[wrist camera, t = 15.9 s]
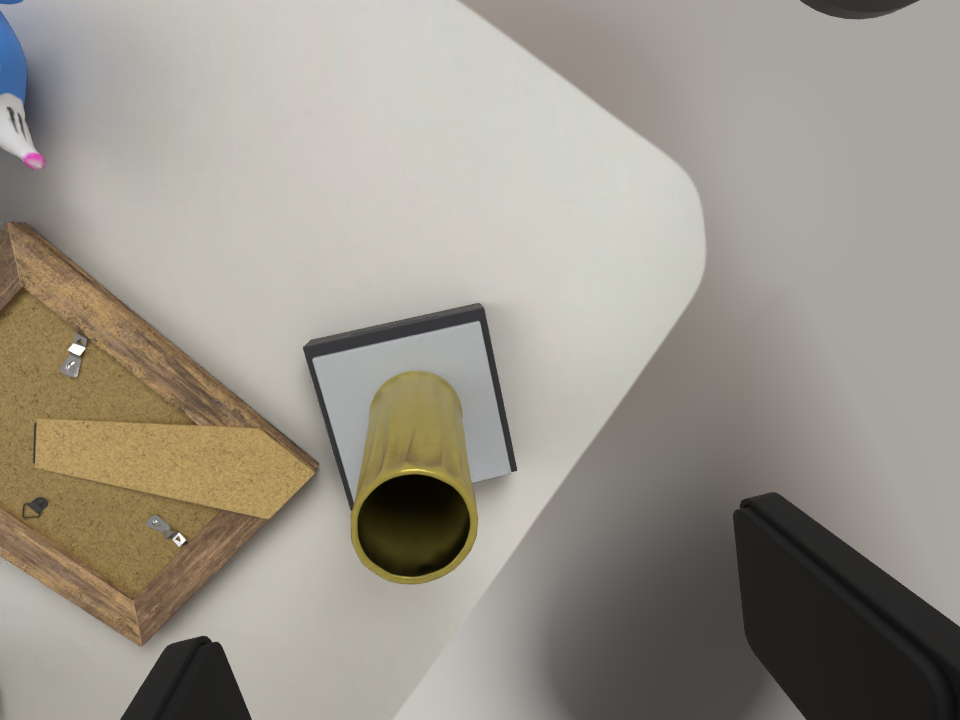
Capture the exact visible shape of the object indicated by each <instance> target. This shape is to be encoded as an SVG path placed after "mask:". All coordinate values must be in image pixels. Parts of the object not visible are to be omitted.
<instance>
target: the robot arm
mask: <svg viewBox="0 0 960 720" xmlns="http://www.w3.org/2000/svg"><path fill="white" fill-rule="evenodd" d="M733 521H734V531H735V541H736V550H737V560H738V571H739V580H740V590H741V600H742V610H743V620H744V629H745V635H746V638H747V640H748V643H749V645H750V647H751V649H752V651H753V652H754V653H755V655H756V656H757V657H758V659H759V660H760V661H761V663H762V664H763V665H764V666H765V668H766V669H767V670H768V671H769V673H770V674H771V675H772V677H773V678H774V679H775V680H776V682H777V683H778V684H779V685H780V687H781V688H782V689H783V690H784V692H785V693H786V694H787V696H788V697H789V698H790V699H791V701H792V702H793V703H794V704H795V706H796V707H797V708H798V710H799V711H800V712H801V713H802V714H803V716H804V717H805V718H806V720H960V627H959V626H958V625H957V624H955V623H954V622H953V621H951V620H950V619H949V618H947V617H946V616H944V615H943V614H941V613H940V612H939V611H938V610H936V609H935V608H933V607H932V606H931V605H929V604H928V603H927V602H925V601H924V600H923V599H921V598H920V597H918V596H917V595H916V594H914V593H913V592H912V591H910V590H909V589H907V588H906V587H905V586H904V585H902V584H901V583H899V582H898V581H897V580H895V579H894V578H893V577H891V576H890V575H889V574H887V573H886V572H884V571H883V570H882V569H880V568H879V567H878V566H876V565H875V564H874V563H872V562H871V561H869V560H868V559H867V558H865V557H864V556H862V555H861V554H860V553H858V552H857V551H856V550H854V549H853V548H852V547H850V546H849V545H847V544H846V543H845V542H843V541H842V540H841V539H839V538H838V537H837V536H835V535H834V534H833V533H831V532H830V531H829V530H827V529H826V528H824V527H823V526H822V525H820V524H819V523H818V522H816V521H815V520H813V519H812V518H811V517H809V516H808V515H807V514H805V513H804V512H803V511H801V510H800V509H799V508H797V507H796V506H794V505H793V504H792V503H790V502H789V501H788V500H786V499H785V498H784V497H782V496H781V495H779V494H777V493H775V492H771V493H767V494H763V495H759V496H755V497H751V498H747V499H744V500H742V501H741V504H740V509H738V510H735V512H734V514H733ZM120 720H252V719H251V716H250V714H249V711H248V709H247V707H246V704H245V702H244V699H243V697H242V694H241V692H240V689H239V687H238V684H237V682H236V679H235V677H234V675H233V672H232V670H231V667H230V665H229V662H228V660H227V657H226V655H225V652H224V650H223V648H222V646H221V644H220V643H218V642H213V643H212V641H211V640H210V639H209V638H208V637H207V636H200V637H196V638H192V639H188V640H184V641H180V642H176V643H173V644H170V645H168V646H167V647H166V648H165V649H164V651H163V652H162V654H161V655H160V657H159V659H158V660H157V662H156V663H155V665H154V667H153V668H152V670H151V671H150V673H149V675H148V676H147V678H146V679H145V681H144V683H143V684H142V686H141V687H140V689H139V691H138V692H137V694H136V695H135V697H134V699H133V700H132V702H131V703H130V705H129V707H128V708H127V710H126V711H125V713H124V715H123V716H122V718H121V719H120Z"/></svg>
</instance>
